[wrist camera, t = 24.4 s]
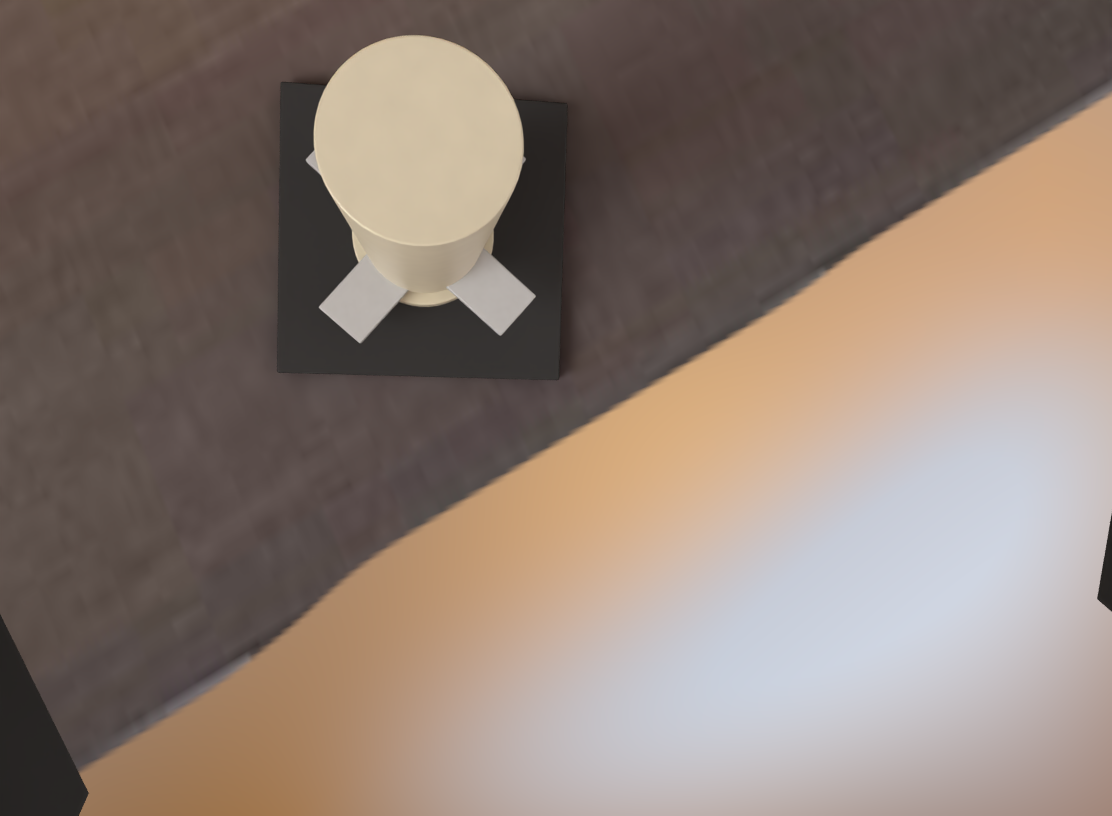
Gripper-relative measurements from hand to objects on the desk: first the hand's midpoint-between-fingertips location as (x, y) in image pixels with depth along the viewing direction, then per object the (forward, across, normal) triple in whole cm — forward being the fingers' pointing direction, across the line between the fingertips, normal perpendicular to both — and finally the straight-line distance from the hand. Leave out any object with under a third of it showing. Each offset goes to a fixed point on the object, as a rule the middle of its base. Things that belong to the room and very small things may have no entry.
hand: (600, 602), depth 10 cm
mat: (+23, -2, 0) cm, 23 cm away
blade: (+22, -2, 0) cm, 23 cm away
